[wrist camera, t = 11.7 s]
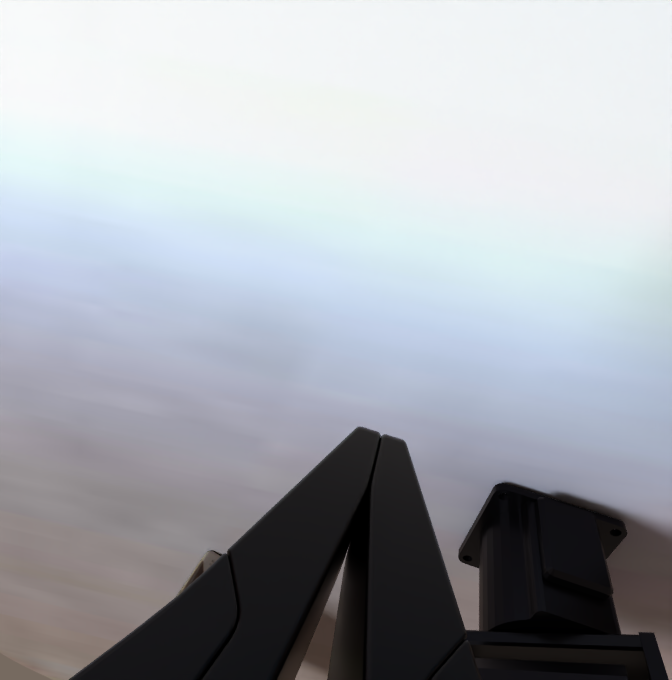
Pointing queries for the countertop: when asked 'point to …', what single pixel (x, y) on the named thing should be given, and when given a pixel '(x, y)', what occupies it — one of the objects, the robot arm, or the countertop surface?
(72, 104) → the countertop surface
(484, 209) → the countertop surface
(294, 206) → the countertop surface
